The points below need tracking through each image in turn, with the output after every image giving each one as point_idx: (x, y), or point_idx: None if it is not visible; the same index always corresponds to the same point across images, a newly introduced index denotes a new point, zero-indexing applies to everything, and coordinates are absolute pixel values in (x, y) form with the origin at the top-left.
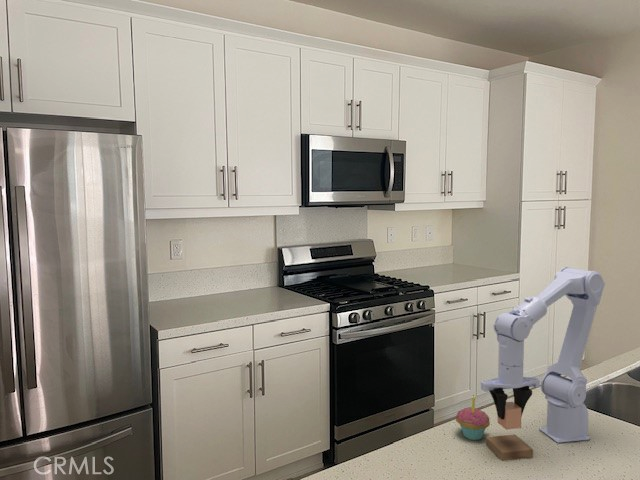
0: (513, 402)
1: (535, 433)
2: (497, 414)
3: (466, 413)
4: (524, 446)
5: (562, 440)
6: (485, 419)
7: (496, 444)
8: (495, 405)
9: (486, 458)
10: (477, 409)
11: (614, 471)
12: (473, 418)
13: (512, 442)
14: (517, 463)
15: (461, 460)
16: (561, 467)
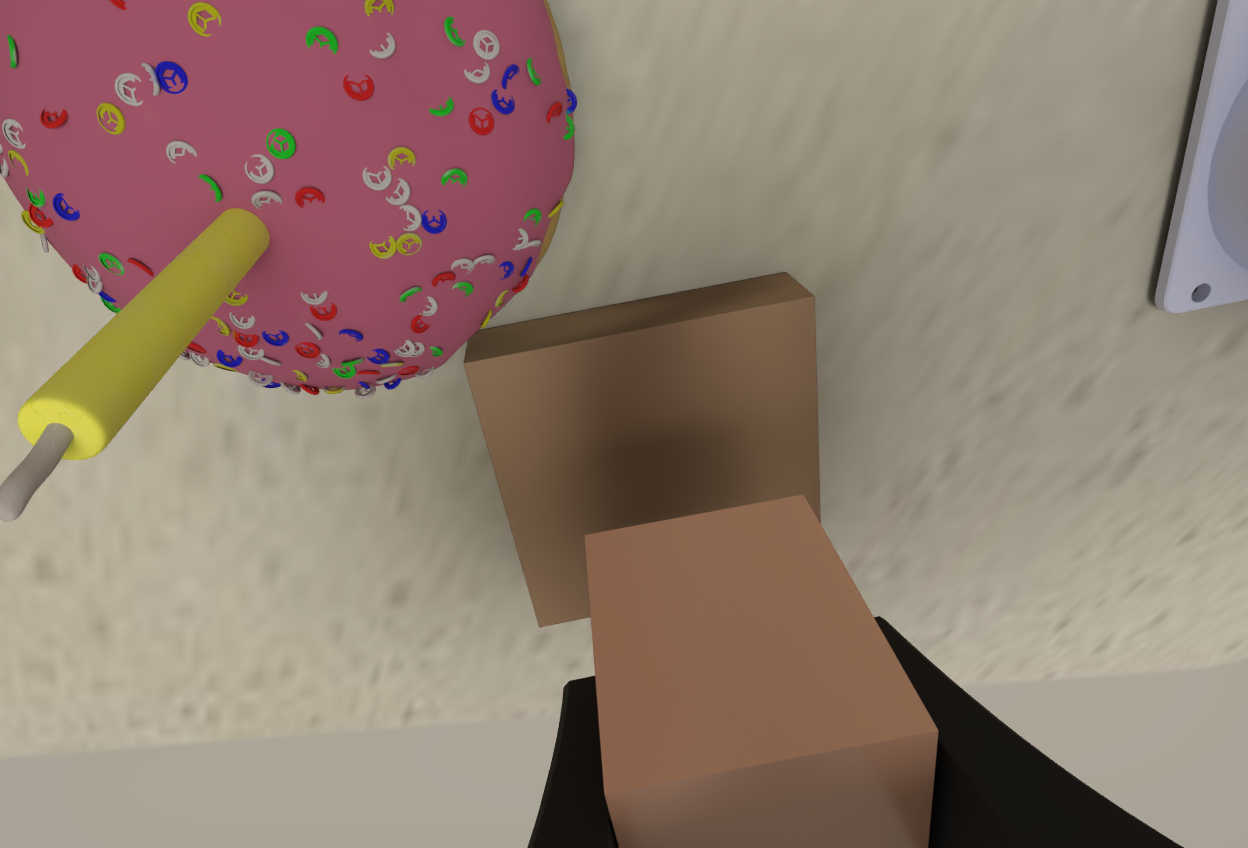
0: (930, 767)
1: (1110, 74)
2: (562, 708)
3: (116, 232)
4: None
5: (1218, 299)
6: (468, 322)
7: (531, 504)
8: (534, 838)
9: (417, 554)
10: (355, 94)
11: (1184, 646)
12: (258, 352)
13: (702, 465)
14: None
15: (193, 590)
16: (912, 628)
